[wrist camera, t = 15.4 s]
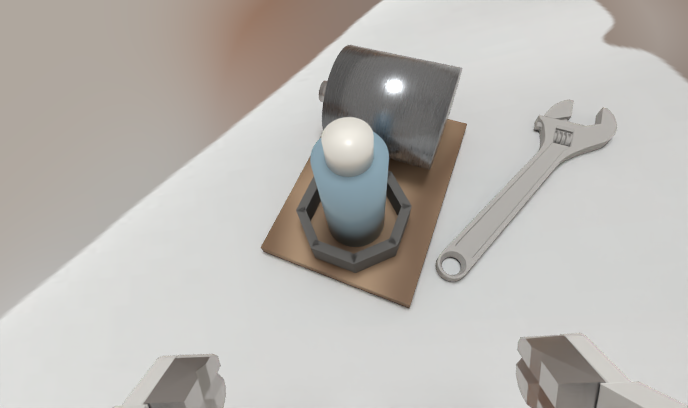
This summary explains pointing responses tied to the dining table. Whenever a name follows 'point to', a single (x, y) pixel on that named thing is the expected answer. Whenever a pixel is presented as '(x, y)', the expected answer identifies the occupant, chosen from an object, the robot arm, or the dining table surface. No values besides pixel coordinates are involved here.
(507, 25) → the dining table surface
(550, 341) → the robot arm
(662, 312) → the dining table surface
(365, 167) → the blue plastic bottle
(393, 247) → the collar
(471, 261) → the adjustable wrench
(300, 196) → the base plate
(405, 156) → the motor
